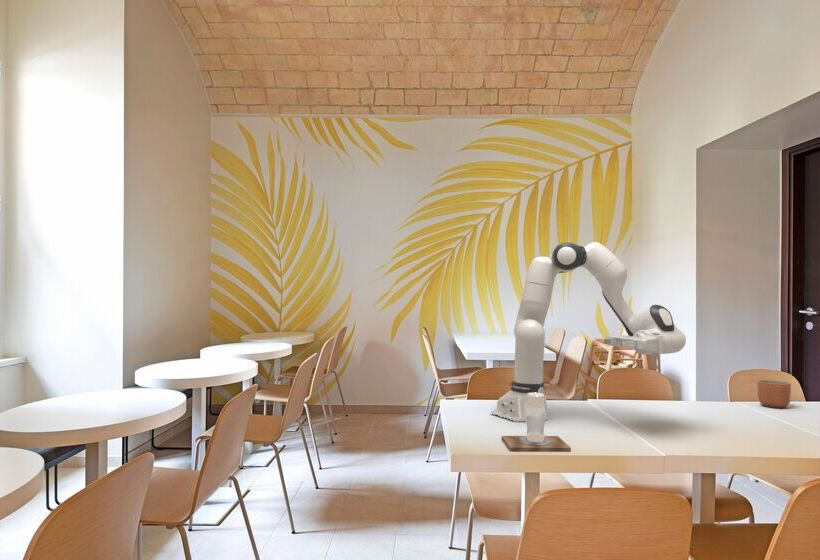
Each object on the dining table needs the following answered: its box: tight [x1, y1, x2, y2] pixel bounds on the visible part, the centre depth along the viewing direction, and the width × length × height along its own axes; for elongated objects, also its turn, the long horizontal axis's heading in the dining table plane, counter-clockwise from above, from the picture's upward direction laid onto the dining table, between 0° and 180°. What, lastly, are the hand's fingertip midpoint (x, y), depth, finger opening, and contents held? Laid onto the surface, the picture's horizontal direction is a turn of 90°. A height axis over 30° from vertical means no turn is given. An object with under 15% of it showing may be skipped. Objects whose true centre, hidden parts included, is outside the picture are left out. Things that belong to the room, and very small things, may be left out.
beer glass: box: [525, 392, 548, 443], centre depth 182 cm, size 7×7×15 cm
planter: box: [757, 379, 792, 409], centre depth 248 cm, size 12×12×11 cm
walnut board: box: [501, 435, 572, 453], centre depth 182 cm, size 19×14×2 cm
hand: (612, 342), depth 198 cm, fingers open, 8 cm apart
